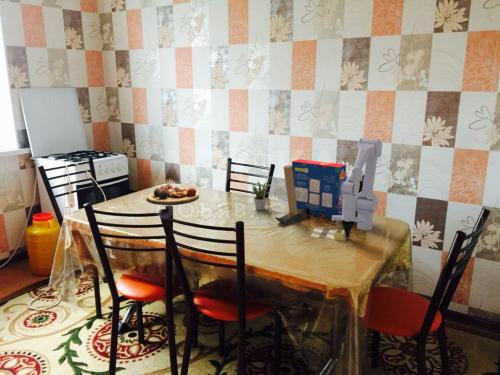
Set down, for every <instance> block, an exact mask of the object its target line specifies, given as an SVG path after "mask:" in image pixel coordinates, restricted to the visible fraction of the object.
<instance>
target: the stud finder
mask: <svg viewBox="0 0 500 375" xmlns="http://www.w3.org/2000/svg"><path fill="white" fill-rule="evenodd" d="M335 230H336V229H335ZM344 237H345V231H344V229H342V230H336V231H335V233H334V239H335V240H334V241H340V240H343V239H344Z"/></svg>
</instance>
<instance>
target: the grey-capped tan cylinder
mask: <svg viewBox="0 0 500 375" xmlns="http://www.w3.org/2000/svg"><path fill="white" fill-rule="evenodd" d="M336 230H343V226H342V221H337V220H335V231H336Z"/></svg>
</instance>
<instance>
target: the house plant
mask: <svg viewBox="0 0 500 375" xmlns="http://www.w3.org/2000/svg"><path fill="white" fill-rule="evenodd" d="M268 182H269V180H268V181H265V182H264V184H263V185H261V183H260V181H256V183H257V185H258V187H257V186H256V185H255V184H253V183H251V182H250V184H251V188H252V193H253V194H251V196H254V197H253V202H254V205H255V209H256V210H257V211H264V210H265V208H266V202H267V197H265V196H270V195H271V192H269V191H267V190H268V187H269V186H272V185H273V183H271V184H268ZM266 191H267V192H266Z"/></svg>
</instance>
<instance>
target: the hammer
mask: <svg viewBox="0 0 500 375" xmlns="http://www.w3.org/2000/svg"><path fill="white" fill-rule="evenodd" d="M283 172H284V179H285V180H284V181H285V189H286V195H287V203H288V204H287V206H288V211H289V212H288V213H287V214H285V215H283V216H281V217H276V216H275V217H274V218H275V219H276V221H278V222H279V223H281V224H284V225H286V226H287V225H291V224H294V223H297V222H300V221H302V220H304V219H306V218H307V216H308V215H311V214H310V210H309V208H308V207H304V208H303V209H300V208H298V209H297V204H296V195H295V187H294V179H293V171H292V164H291V165H290V164H289V165H288V164H287V165H284V166H283Z"/></svg>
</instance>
